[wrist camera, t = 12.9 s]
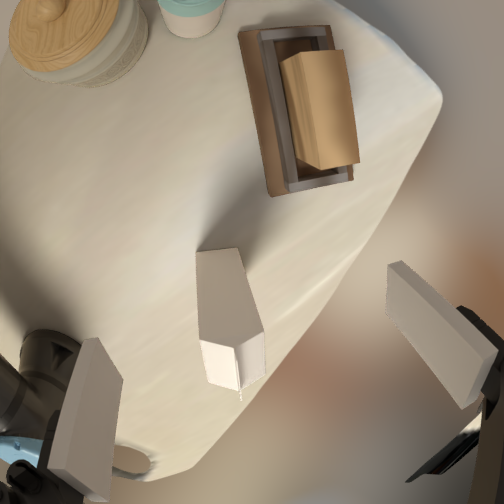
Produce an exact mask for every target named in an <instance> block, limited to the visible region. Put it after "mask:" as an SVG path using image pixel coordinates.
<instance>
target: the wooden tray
mask: <svg viewBox="0 0 504 504" xmlns="http://www.w3.org/2000/svg"><path fill="white" fill-rule="evenodd" d="M238 40H239V44H240V49H241V54H242V59H243V64H244V68H245V73H246V78H247V83H248V88H249V93H250V98H251V103H252V108H253V113H254V118H255V124H256V129H257V134H258V139H259V145H260V150H261V155H262V161H263V166H264V171H265V177H266V182H267V188H268V194H269V195H270V197H275V196H280V195H284V194H289V193H294V192H298V191H303V190H308V189H312V188H317V187H322V186H327V185H332V184H337V183H342V182H347V181H352V180H354V178H353V167H352V164H350V165H345V166H340V167H334V168H329V169H324V170H320V169H318V168H316V167H314V166H312V165H310V164H308V163H306V162H304V161H302V160H300V159H298V158H296V157H295V156H294V150H293V144H292V138H291V132H290V126H289V120H288V114H287V109H286V103H285V98H284V92H283V87H282V82H281V77H280V72H279V66H278V63H280V62H282V61H284V60H286V59H288V58H290V57H292V56H294V55H296V54H298V53H300V52H309V51H324V50H335V46H334V41H333V36H332V32H331V27H330V25H314V26H294V27H280V28H270V29H260V30H252V31H244V32H239V33H238Z"/></svg>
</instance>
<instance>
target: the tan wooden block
mask: <svg viewBox="0 0 504 504" xmlns="http://www.w3.org/2000/svg"><path fill="white" fill-rule="evenodd" d="M278 66H279V72H280V77H281V82H282V87H283V92H284V98H285V103H286V109H287V114H288V120H289V126H290V132H291V138H292V144H293V150H294V156H295V157H296V158H298V159H300V160H302V161H304V162H306V163H308V164H310V165H312V166H314V167H316V168H318V169H320V170H324V169H329V168H334V167H340V166H345V165H350V164H356V163H360V157H359V148H358V140H357V131H356V124H355V117H354V110H353V103H352V97H351V90H350V85H349V79H348V73H347V68H346V62H345V57H344V52H343V50H324V51H309V52H300V53H298V54H296V55H294V56H292V57H290V58H288V59H286V60H284V61H282V62H280V63H278Z"/></svg>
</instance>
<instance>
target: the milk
mask: <svg viewBox="0 0 504 504" xmlns="http://www.w3.org/2000/svg"><path fill="white" fill-rule="evenodd" d="M196 283H197V306H198V325H199V340H200V346H201V351H202V356H203V360H204V365H205V370H206V375H207V379H208V382H209V383H212V384H215V385H219V386H222V387H226V388H229V389H233V390H237V391H239V394H240V399H241V401H242V395H241V390H242V389H244V388H245V387H247V386H249V385H250V384H252V383H253V382H255V381H256V380H258V379H259V378H261V377H263V376H264V375H265V374H266V368H265V339H264V329H263V326H262V323H261V320H260V317H259V314H258V310H257V307H256V304H255V301H254V298H253V295H252V292H251V289H250V286H249V282H248V279H247V276H246V273H245V270H244V267H243V264H242V261H241V257H240V254H239V251H238V248H237V247H236V248H228V249H219V250H211V251H202V252H196Z"/></svg>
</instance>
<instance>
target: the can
mask: <svg viewBox="0 0 504 504" xmlns="http://www.w3.org/2000/svg"><path fill="white" fill-rule="evenodd" d="M157 1H158V4H159V7H160V10H161V13H162V16H163V19H164V22H165V24H166V26H167V28H168V29H169V30H170V31H171V32H172V33H173V34H175V35H177V36H180V37H183V38H197V37H201V36H204V35H206V34H208V33H209V32H211V31H212V30H213V29H214V28H215V27H216V26H217V24H218V23H219V20H220V17H221V14H222V11H223V7H224V4H225V1H226V0H157Z"/></svg>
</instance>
